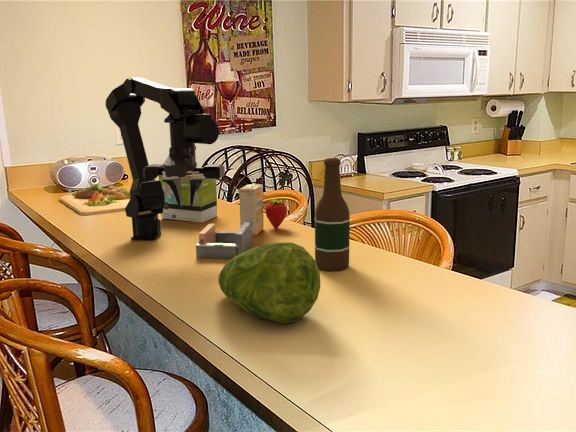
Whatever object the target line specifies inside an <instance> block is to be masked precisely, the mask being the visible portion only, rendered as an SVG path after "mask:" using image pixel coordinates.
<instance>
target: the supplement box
mask: <svg viewBox="0 0 576 432" xmlns="http://www.w3.org/2000/svg"><path fill="white" fill-rule="evenodd" d="M263 187H264V185H263V184H261V183H259V184H258V183H256V184H253V183H252V184H246V185H244V186H242V187H241V188H239V189H238V192H239V193H238V194H239V197H238V199H239V221H240V222H239V225H240V226H239V227H240V228H241V227H242V225H243V224H244V223H245V222H246V221H252V232H253V237H257V236H258V235H259V233H261V232H262V231H263V230H264V190H263ZM240 228H239V229H240Z"/></svg>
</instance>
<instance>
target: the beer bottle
mask: <svg viewBox="0 0 576 432" xmlns="http://www.w3.org/2000/svg"><path fill="white" fill-rule="evenodd" d="M323 165H324V180H323V190H322V195H321V197H320V199H319V200H318V201H317V204H316V207H315V211H314V260H315V262H316V264H317V267H318V270H319V271H325V272H342V271H344V270H346V269H348V268H349V265H350V236H351V235H350V227H351V226H350V224H351V223H350V222H351V221H350V210H349V207H348V204H347V202H346V201H345V199H344V197H343V195H342V185H341V167H340V166H341V165H342V162H341V159H339V158H337V157H336V158H335V157H331V158H330V157H328V158H325V159H324V161H323Z"/></svg>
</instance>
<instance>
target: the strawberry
mask: <svg viewBox="0 0 576 432" xmlns="http://www.w3.org/2000/svg"><path fill="white" fill-rule="evenodd" d="M277 196H279V194H277ZM285 202H287V200H285V199H284V200H282V199H280V200H278V199H270V200H268V201H267V204H266V205H265V208H264V212H265V215H266V218H267V219H268V221H269V223H270V224H271V226H272V227H273V229H278V228H279V227H280V226H281V224H283V222H284V220H285V219H286V217H287V213H288V207H287V206H286V204H285Z"/></svg>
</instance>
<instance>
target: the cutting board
mask: <svg viewBox="0 0 576 432" xmlns="http://www.w3.org/2000/svg"><path fill="white" fill-rule="evenodd" d="M130 199H131V197H130V189H128V188H127V187H118V186H114V185H109V186H108V187H101V186H100V183H93V184H91V185H90V186H87V187H84V188H83V187H81V188H79V189H78V190H77V191H76V190H75V191H74V192H73V193H72V192H71V194H69V195H68V194H67V195H63V196H60V197H59V201H60V202H61V203H62V204H64V205H66V206H67V207H69V208H70V209H72V210H73V211H75V212H76V213H77V214H79V215H80V216H93V215H100V214H101V215H103V214H109V213H117V212H125V208H126V206H127V204H128V202H129V200H130Z"/></svg>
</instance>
